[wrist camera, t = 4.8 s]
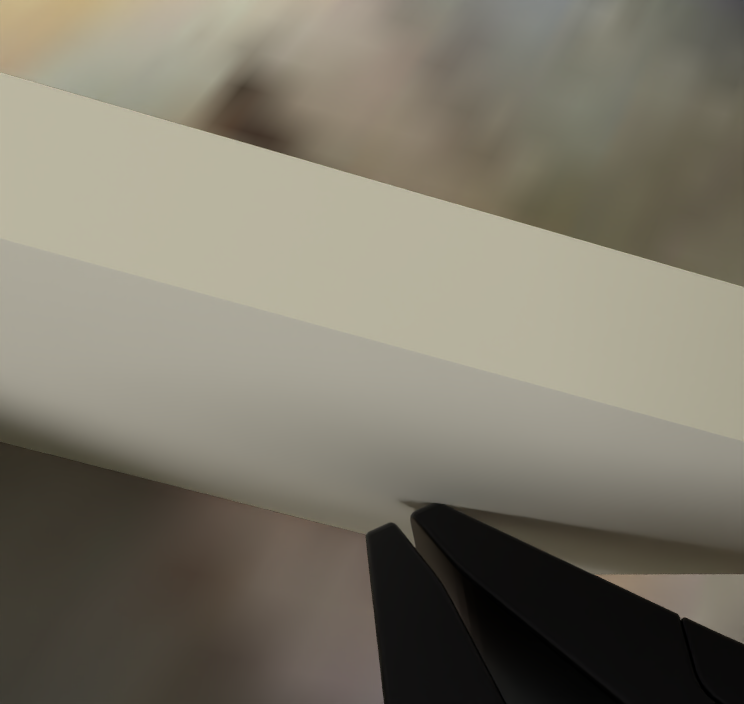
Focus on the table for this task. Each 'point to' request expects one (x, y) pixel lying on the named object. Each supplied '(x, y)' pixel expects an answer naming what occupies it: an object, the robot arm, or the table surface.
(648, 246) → the table surface
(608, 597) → the robot arm
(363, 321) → the side door
